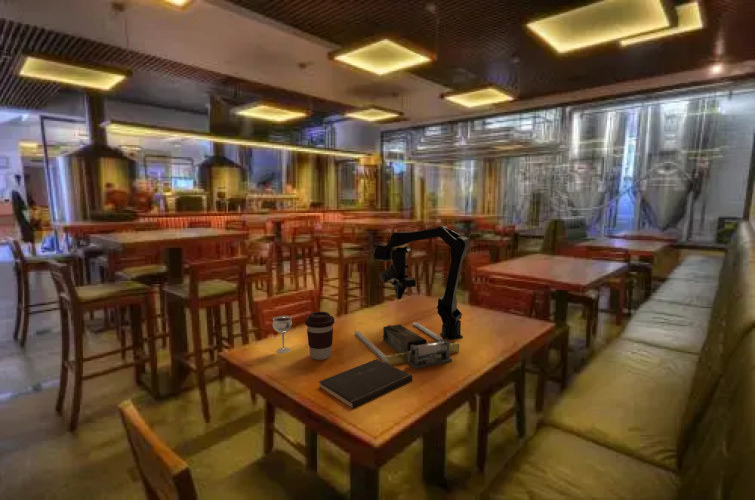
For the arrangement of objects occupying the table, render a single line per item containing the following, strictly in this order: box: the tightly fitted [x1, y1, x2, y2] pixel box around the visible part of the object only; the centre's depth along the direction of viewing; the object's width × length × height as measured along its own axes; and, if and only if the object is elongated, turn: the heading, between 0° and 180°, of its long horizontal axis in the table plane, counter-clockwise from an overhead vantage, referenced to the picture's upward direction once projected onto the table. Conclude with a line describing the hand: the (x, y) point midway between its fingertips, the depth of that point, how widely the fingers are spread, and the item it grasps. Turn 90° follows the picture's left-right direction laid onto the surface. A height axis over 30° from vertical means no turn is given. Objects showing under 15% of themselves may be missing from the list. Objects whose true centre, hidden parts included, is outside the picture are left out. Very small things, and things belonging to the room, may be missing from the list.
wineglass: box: [272, 314, 293, 354], centre depth 141 cm, size 7×7×12 cm
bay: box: [354, 321, 460, 366], centre depth 149 cm, size 28×31×3 cm
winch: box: [405, 338, 453, 370], centre depth 131 cm, size 16×5×6 cm, turn 114°
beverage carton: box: [382, 324, 427, 353], centre depth 143 cm, size 8×19×7 cm, turn 26°
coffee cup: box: [304, 311, 335, 361], centre depth 136 cm, size 10×10×15 cm
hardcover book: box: [318, 358, 413, 410], centre depth 117 cm, size 16×23×2 cm
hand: (398, 299), depth 164 cm, fingers closed
